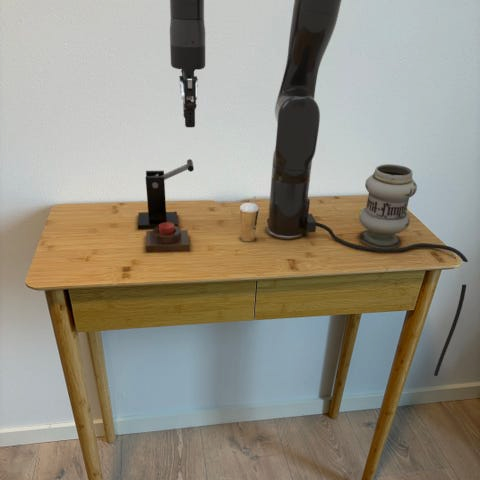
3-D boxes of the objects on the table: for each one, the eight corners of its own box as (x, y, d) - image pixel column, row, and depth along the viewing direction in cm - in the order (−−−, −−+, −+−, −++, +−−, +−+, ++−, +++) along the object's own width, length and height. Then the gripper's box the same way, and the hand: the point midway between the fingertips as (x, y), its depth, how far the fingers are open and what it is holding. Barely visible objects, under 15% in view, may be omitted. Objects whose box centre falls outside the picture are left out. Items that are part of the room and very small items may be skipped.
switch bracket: (176, 215, 132) (175, 168, 125) (177, 228, 126) (175, 179, 118) (139, 216, 131) (134, 168, 123) (137, 229, 124) (133, 179, 117)
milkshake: (261, 235, 124) (263, 197, 118) (252, 244, 120) (254, 205, 114) (244, 232, 125) (246, 194, 119) (235, 240, 121) (237, 201, 115)
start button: (174, 228, 118) (174, 221, 117) (174, 235, 115) (174, 228, 114) (159, 229, 118) (158, 222, 117) (159, 235, 115) (158, 228, 114)
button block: (187, 236, 122) (187, 223, 120) (189, 251, 116) (188, 237, 114) (146, 237, 121) (145, 223, 119) (146, 252, 115) (144, 238, 113)
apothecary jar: (348, 230, 128) (360, 161, 118) (392, 228, 130) (407, 160, 120) (365, 252, 119) (380, 178, 108) (412, 249, 120) (431, 177, 110)
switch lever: (194, 165, 123) (190, 156, 122) (195, 171, 119) (191, 162, 118) (152, 184, 125) (148, 175, 123) (152, 191, 121) (147, 182, 119)
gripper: (207, 48, 100) (207, 130, 110) (202, 39, 112) (203, 115, 121) (170, 46, 99) (173, 130, 109) (169, 38, 111) (172, 114, 120)
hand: (189, 122), depth 115 cm, fingers open, 8 cm apart
